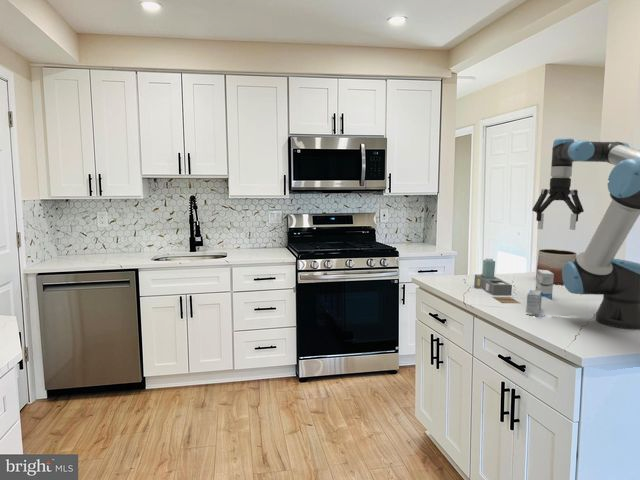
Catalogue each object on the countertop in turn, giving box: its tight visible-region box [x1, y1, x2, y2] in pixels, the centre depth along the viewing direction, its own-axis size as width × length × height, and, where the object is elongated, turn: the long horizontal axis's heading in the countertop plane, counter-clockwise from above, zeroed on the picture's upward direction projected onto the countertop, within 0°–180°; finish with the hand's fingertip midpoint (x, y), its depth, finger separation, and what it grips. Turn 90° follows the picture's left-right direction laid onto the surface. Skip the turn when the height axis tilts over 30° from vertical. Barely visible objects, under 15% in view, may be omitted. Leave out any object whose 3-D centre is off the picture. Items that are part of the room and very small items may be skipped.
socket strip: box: [473, 273, 513, 296], centre depth 204 cm, size 22×8×6 cm, turn 2°
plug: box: [481, 257, 496, 279], centre depth 208 cm, size 4×4×13 cm
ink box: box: [535, 269, 554, 300], centre depth 197 cm, size 8×5×12 cm, turn 168°
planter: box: [535, 248, 578, 285], centre depth 230 cm, size 18×18×16 cm
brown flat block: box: [492, 296, 521, 304], centre depth 186 cm, size 10×8×2 cm
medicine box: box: [525, 289, 543, 318], centre depth 170 cm, size 8×4×9 cm, turn 148°
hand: (556, 229), depth 182 cm, fingers open, 13 cm apart
